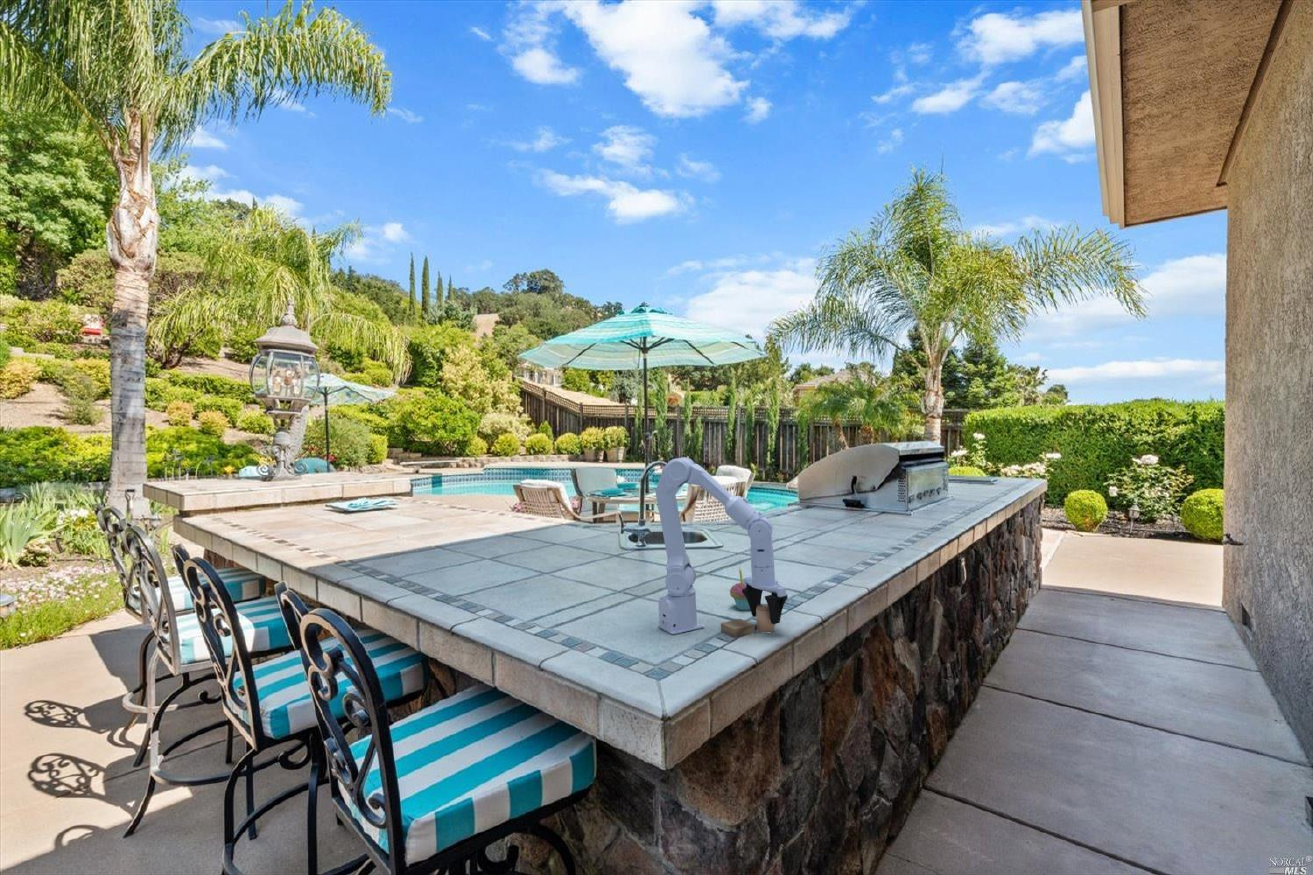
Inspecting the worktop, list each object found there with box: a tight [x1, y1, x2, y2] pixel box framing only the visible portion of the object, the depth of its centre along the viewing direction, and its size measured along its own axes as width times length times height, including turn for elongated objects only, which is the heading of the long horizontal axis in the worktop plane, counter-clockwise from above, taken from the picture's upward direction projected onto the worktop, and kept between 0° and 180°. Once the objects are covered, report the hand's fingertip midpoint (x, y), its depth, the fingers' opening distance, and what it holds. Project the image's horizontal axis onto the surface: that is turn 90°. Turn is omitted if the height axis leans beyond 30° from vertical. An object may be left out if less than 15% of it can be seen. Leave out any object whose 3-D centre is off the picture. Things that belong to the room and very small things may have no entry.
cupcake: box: [729, 567, 751, 611], centre depth 164 cm, size 9×8×12 cm
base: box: [720, 618, 756, 639], centre depth 144 cm, size 6×6×2 cm
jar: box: [755, 603, 776, 633], centre depth 144 cm, size 4×4×6 cm
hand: (765, 619), depth 144 cm, fingers open, 7 cm apart
